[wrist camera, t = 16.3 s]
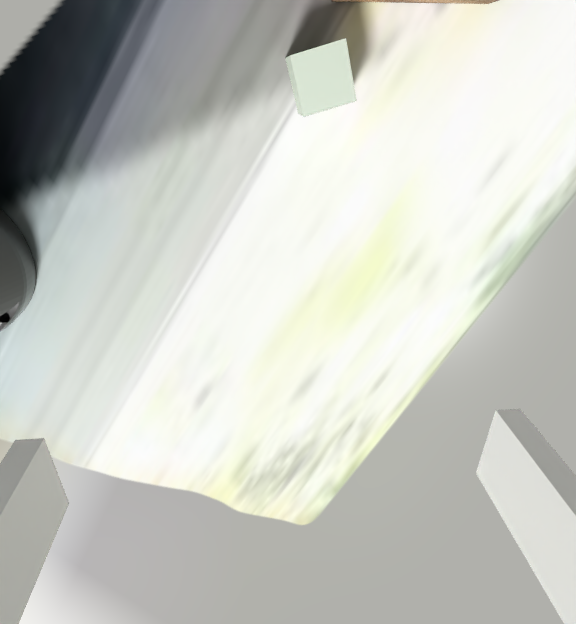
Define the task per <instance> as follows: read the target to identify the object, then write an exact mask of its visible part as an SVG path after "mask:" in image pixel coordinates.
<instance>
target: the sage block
mask: <svg viewBox="0 0 576 624" xmlns="http://www.w3.org/2000/svg"><path fill="white" fill-rule="evenodd" d="M285 59H286V63H287V67H288V72H289V76H290V80H291V85H292V89H293V93H294V98H295V102H296V106H297V111H298V114H300V115H302V116H303V117H305V116H309V115H312V114H315V113H319V112H322V111H325V110H328V109H332V108H335V107H338V106H342V105H345V104H348V103H352V102H355V101H356V95H355V89H354V83H353V77H352V71H351V65H350V59H349V53H348V47H347V41H346V38H345V39H341V40H338V41H335V42H332V43H328V44H325V45H322V46H319V47H316V48H312V49H309V50H306V51H303V52H300V53H296V54H293V55H290V56H288V57H287V58H285Z"/></svg>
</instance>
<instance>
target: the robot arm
mask: <svg viewBox="0 0 576 624" xmlns="http://www.w3.org/2000/svg"><path fill="white" fill-rule="evenodd" d="M35 281H36V272H35V265H34V260H33V257H32V254H31V251H30V249H29V246H28V244H27V242H26V240H25V238H24V237H23V235H22V234H21V232H20V231H19V229H18V228H17V226H16V225H15V224H14V223H13V221H12V220H11V219H10V218H9V217H8V216H7V215H6V214H5V213H4V212H3V211H2V210H1V209H0V332H1V331H2V330H3V329H5V328H6V327H8V326H9V325H10V324H11V323H12V322H13V321H14V320H15V319H16V318H17V317H18V316H19V315H20V314H21V313H22V312H23V311H24V309H25V308H26V307H27V305H28V304H29V302H30V300H31V298H32V295H33V292H34V289H35ZM476 474H477V476H478V477H479V479H480V481H481V482H482V484H483V485H484V488H485V489H486V491H487V493H488V494H489V496H490V498H491V500H492V501H493V503H494V505H495V506H496V508H497V510H498V512H499V513H500V515H501V517H502V518H503V520H504V522H505V523H506V525H507V527H508V529H509V530H510V532H511V534H512V535H513V537H514V539H515V541H516V542H517V544H518V546H519V547H520V549H521V551H522V552H523V554H524V556H525V558H526V559H527V561H528V563H529V564H530V566H531V568H532V570H533V571H534V573H535V575H536V576H537V578H538V580H539V582H540V583H541V585H542V587H543V588H544V590H545V592H546V594H547V595H548V597H549V599H550V600H551V602H552V604H553V605H554V607H555V609H556V611H557V612H558V614H559V616H560V617H561V619H562V621H563V622H564V624H576V475H575V474H574V473H573V472H572V470H571V469H569V467H568V466H567V464H566V463H565V462H564V461H563V460H562V458H561V457H560V456H559V455H558V454H557V452H556V451H555V450H554V449H553V448H552V447H551V445H550V444H549V443H548V442H547V441H546V439H545V438H544V437H543V436H542V435H541V433H540V432H539V431H538V430H537V429H536V427H535V426H534V425H533V424H532V423H531V421H530V420H529V419H528V418H527V417H526V415H525V414H524V413H523V412H522V411H521V409H510V410H496V412H495V414H494V418H493V421H492V424H491V427H490V431H489V434H488V437H487V440H486V443H485V447H484V449H483V453H482V456H481V459H480V462H479V466H478V469H477V472H476ZM68 504H69V502H68V499H67V497H66V494H65V491H64V489H63V486H62V484H61V481H60V478H59V476H58V473H57V471H56V468H55V465H54V463H53V460H52V458H51V455H50V452H49V450H48V447H47V445H46V442H45V439H44V438H41V439H25V440H15V441H14V443H13V445H12V446H11V448H10V449H9V451H8V452H7V454H6V456H5V457H4V459H3V460H2V462H1V463H0V624H19V621H20V619H21V616H22V614H23V612H24V609H25V607H26V605H27V602H28V600H29V597H30V595H31V592H32V590H33V588H34V585H35V583H36V581H37V578H38V576H39V574H40V571H41V569H42V566H43V564H44V561H45V559H46V557H47V554H48V552H49V550H50V547H51V545H52V542H53V540H54V538H55V535H56V533H57V531H58V528H59V526H60V524H61V521H62V519H63V516H64V514H65V512H66V509H67V507H68Z"/></svg>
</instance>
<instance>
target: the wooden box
mask: <svg viewBox="0 0 576 624" xmlns="http://www.w3.org/2000/svg"><path fill="white" fill-rule="evenodd" d="M332 1H336V2H405V3H474V4H489V3H492V2H495V1H499V0H332Z"/></svg>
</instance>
